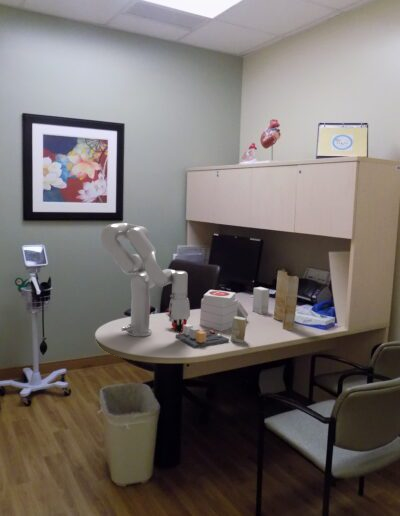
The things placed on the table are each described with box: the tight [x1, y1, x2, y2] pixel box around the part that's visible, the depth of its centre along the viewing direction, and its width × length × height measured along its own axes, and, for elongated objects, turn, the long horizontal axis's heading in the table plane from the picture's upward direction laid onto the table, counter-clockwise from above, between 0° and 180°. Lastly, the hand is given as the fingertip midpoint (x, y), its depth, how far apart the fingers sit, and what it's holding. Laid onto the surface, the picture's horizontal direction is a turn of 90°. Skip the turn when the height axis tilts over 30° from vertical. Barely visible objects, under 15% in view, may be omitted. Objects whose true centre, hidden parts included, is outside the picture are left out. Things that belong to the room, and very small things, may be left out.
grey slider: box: [189, 327, 201, 339], centre depth 237 cm, size 4×4×4 cm
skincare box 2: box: [252, 286, 270, 315], centre depth 298 cm, size 8×7×16 cm
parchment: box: [273, 269, 299, 331], centre depth 275 cm, size 23×6×30 cm, turn 8°
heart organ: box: [165, 308, 188, 330], centre depth 255 cm, size 10×12×12 cm
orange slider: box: [196, 330, 206, 343], centre depth 232 cm, size 4×4×4 cm
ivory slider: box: [182, 323, 194, 335], centre depth 242 cm, size 4×4×4 cm
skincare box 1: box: [230, 316, 248, 344], centre depth 241 cm, size 6×4×12 cm
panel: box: [175, 329, 230, 349], centre depth 240 cm, size 21×17×2 cm
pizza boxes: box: [199, 289, 249, 332], centre depth 270 cm, size 19×30×18 cm, turn 144°
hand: (178, 331), depth 238 cm, fingers closed
